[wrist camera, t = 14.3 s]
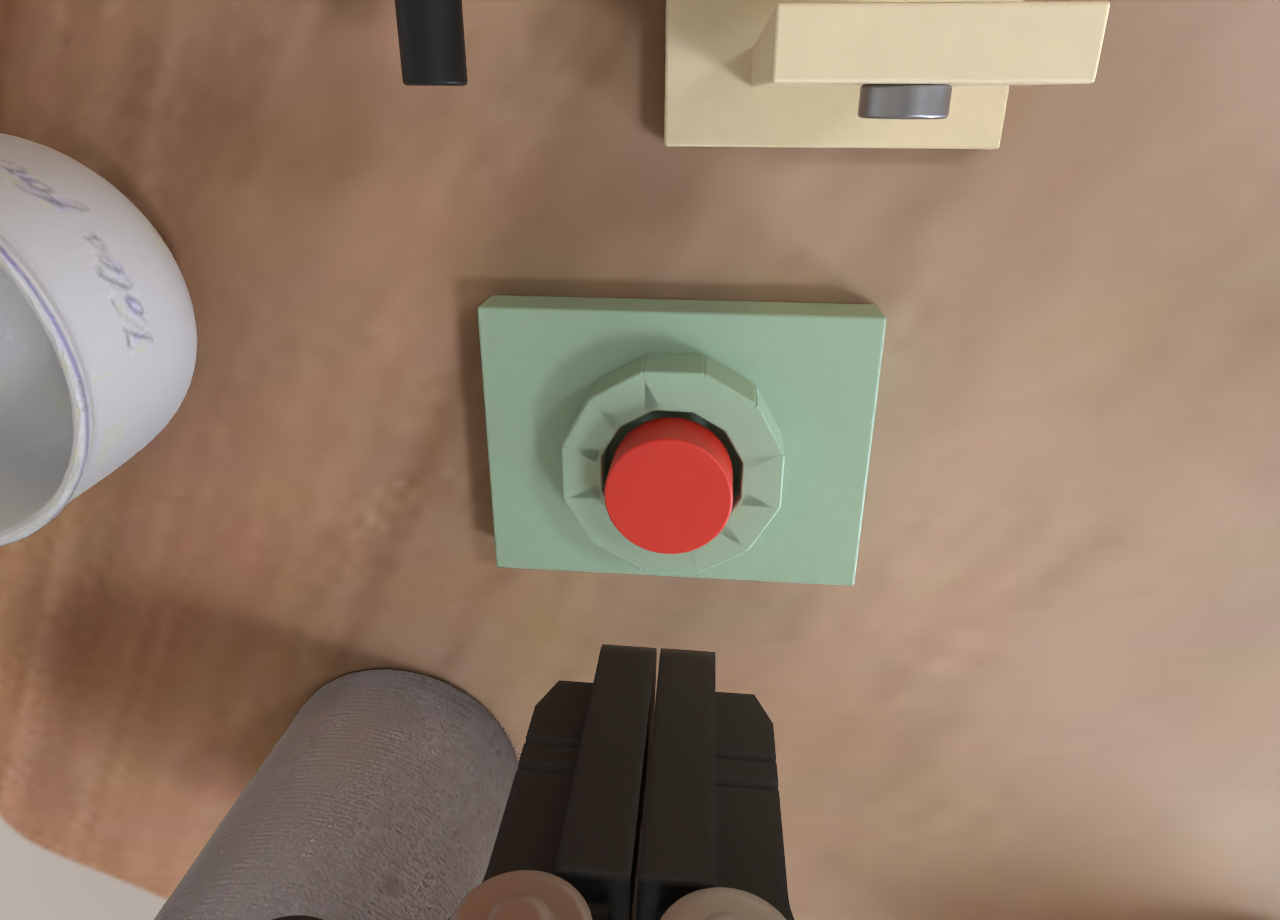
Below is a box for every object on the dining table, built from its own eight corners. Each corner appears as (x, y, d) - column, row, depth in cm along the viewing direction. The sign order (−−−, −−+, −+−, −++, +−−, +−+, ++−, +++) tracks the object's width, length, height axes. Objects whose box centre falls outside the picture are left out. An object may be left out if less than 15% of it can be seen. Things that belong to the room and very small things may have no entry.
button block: (507, 543, 30) (482, 597, 27) (491, 294, 27) (458, 321, 23) (847, 560, 29) (862, 618, 26) (878, 303, 26) (899, 333, 22)
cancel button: (612, 523, 26) (604, 552, 24) (611, 413, 24) (602, 436, 23) (729, 529, 26) (730, 558, 24) (735, 418, 24) (736, 441, 23)
